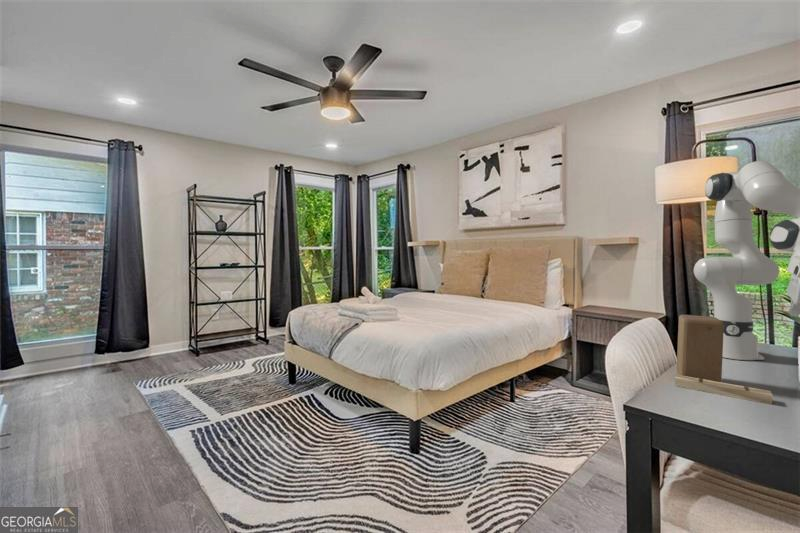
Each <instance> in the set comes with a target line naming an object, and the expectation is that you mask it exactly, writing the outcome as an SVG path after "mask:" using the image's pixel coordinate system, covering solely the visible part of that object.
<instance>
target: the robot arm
mask: <svg viewBox="0 0 800 533" xmlns="http://www.w3.org/2000/svg"><path fill="white" fill-rule="evenodd" d="M704 192H705V196H706V197H707V198H708V200H711V201H716V204H715V211H714V224H713V225H714V241H715V243H716V244H717V245H718V246H720V247H722V248H724V249H726V250H728V252H730V253H731V255H732V256H710V257H704V258H700V259H698V261H697V262H696V263H695V264H694V267H693V275H694V277H695V278H696V280H697V281H699V283H701V284H702V285H704V286H705V287H707V289H708V290H709V291H710V293H711V295H712V298H713V317H715V318H717V319H719V320H720V321H722V322H723V324H724V333H723V356H722V358H725V359H731V360H737V361H738V360H740V361H755V360H756V361H760V360H761V361H764V360H765V357H764V356H763V355H762V354H760V353H759V337H758V336H756V335H755V334H754V333H753V331H754V321H753V319H752V318H753V303H752V301H751V299H749V298H748V296H745V295H743V294H741V293H738V291H737V289H736V286H739V285H740V286H763V285H769V284H772V283H774V282H775V281H777V279H778V278H779V276H780V267H779V265H778V263H777V262H776V261H774V259H771V258H769V257H768V256H766V255H765V254H764V252H762V251H761V250H760V248H759V247H758V245H757V243H756V241H755V238H754V231H753V217H752V216H753V215H752V206H753V207H755V208H757V209H760V210H763V211H767V212H768V211H769V212H774V213H779V214H780V213H781V214H785V215H787V216H791V217H794V218H792V219H783V220H781V221H779V222H778V223H777V224H775V225H774V226H773V227H772V228H771V230H770V233H769V242H770V244H771V246H772V247H773V248H774V249H775V250H779V251H782V252H789V253H793V254H791V257H790V260H789V262H788V265H787V267H786V272H788V273H791V275H790V281H789V283H788V285H787V288H786V293H787V295H788V296H789V298H790V300H791V301H790V304H789V305H790V306H789V309H788V314H789V316H791V317H794V318H798V317H799V316H800V189H799V187H797V186H796V185H794V184H793V183H792V182H790V180H788V179H787V178H786V177H785V175H784V174H783V172H781V171H780V170H779V169H778V168H777V167H775V166H774V165H772V164H771V163H770V162H768V161H763V160H755V161H752V162H749V163H747V164H745V165H744V166H743V167H741V169H740V170H739V171H730V172H720V173H715V174H712V175H710V176H709V177H708V178H707V180H706V182H705V185H704Z"/></svg>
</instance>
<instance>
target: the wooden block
mask: <svg viewBox="0 0 800 533" xmlns="http://www.w3.org/2000/svg"><path fill="white" fill-rule="evenodd" d="M677 328H678V329H677V330H678V331H677V351H676V353H677V354H676V357H677V358H676V372H677V375H682V376H688V377H693V378H701V379H705V380H710V381H716V382H722V377H723V376H722V375H723V357H722V356H723V333H724V324H723V322H722V321H720V320H719V319H717V318H715V317H714V316H707V315H695V314H694V315H692V314H679V316H678V326H677Z"/></svg>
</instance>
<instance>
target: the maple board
mask: <svg viewBox="0 0 800 533" xmlns="http://www.w3.org/2000/svg"><path fill="white" fill-rule="evenodd" d="M674 386H675V387H678V386H679V388H683V387H685V388H684V389H690V390H695V391H700V392H705V393H709V394H717V395H719V396H727V397H730V398H737V399H741V400H746V401H752V402H757V403H760V404H761V403H762V404H767V405H773V394H772V391H771V390H766V389H761V388H756V387H751V386H750V387H749V386H748V385H747V386H746V385H744V386H743V385H738V384H732V383H727V382H723V381H721V382H716V381H710V380H705V379H701V378H693V377H688V376H682V375H679V374H675V378H674Z"/></svg>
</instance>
